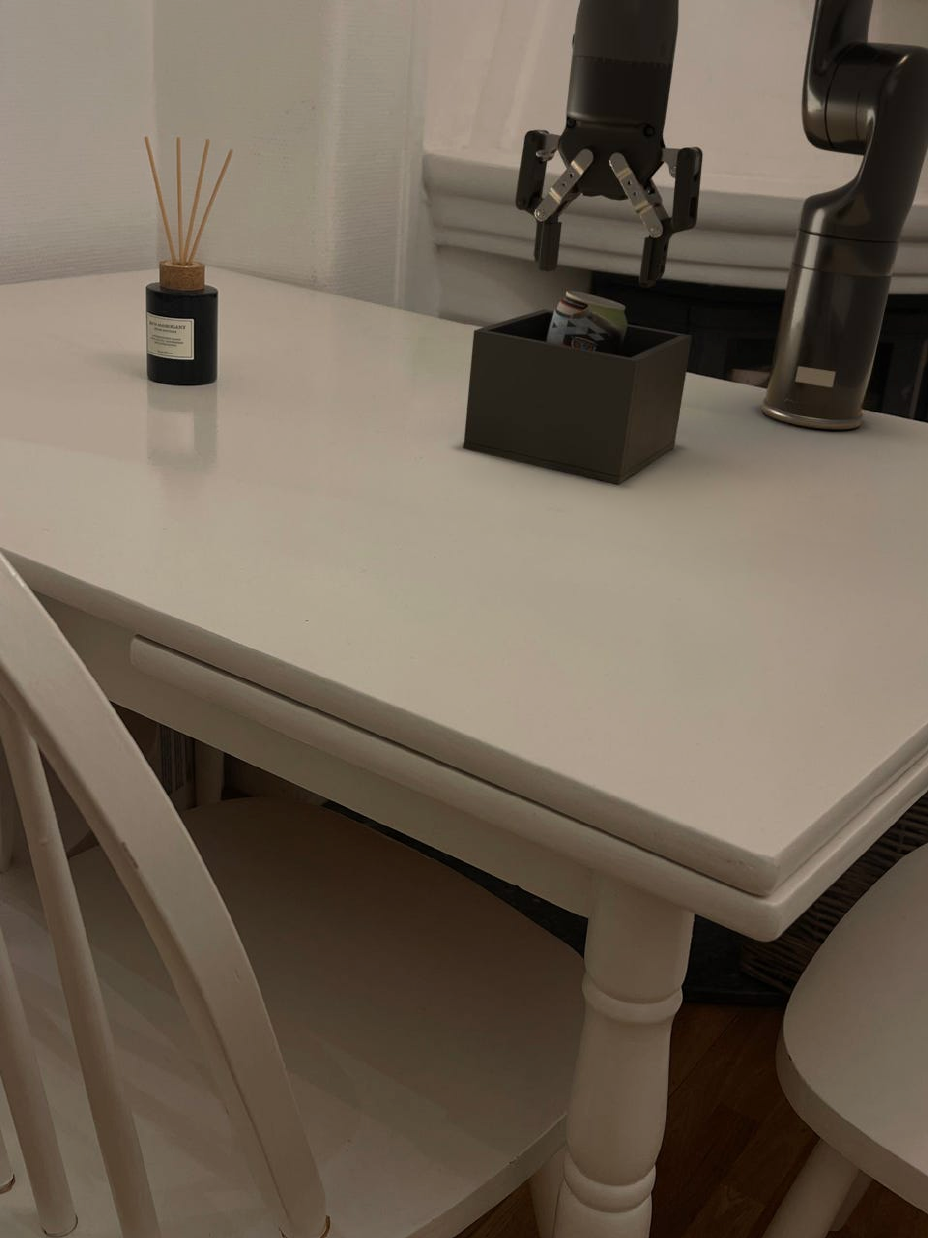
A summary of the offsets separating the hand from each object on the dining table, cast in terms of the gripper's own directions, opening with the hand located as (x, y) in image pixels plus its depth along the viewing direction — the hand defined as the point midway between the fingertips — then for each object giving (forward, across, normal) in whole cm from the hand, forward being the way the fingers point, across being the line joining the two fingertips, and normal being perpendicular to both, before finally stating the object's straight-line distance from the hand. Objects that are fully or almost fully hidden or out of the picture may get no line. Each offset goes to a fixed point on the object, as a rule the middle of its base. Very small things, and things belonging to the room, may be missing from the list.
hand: (596, 277), depth 100 cm
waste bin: (+14, 0, 0) cm, 14 cm away
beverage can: (+14, +1, 0) cm, 14 cm away
